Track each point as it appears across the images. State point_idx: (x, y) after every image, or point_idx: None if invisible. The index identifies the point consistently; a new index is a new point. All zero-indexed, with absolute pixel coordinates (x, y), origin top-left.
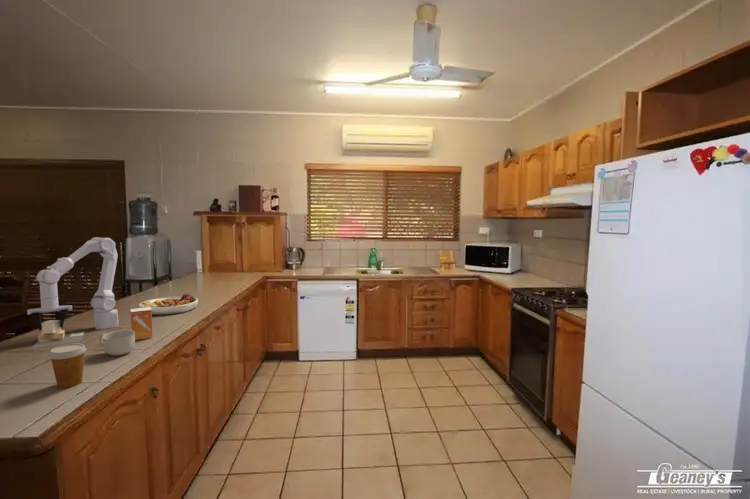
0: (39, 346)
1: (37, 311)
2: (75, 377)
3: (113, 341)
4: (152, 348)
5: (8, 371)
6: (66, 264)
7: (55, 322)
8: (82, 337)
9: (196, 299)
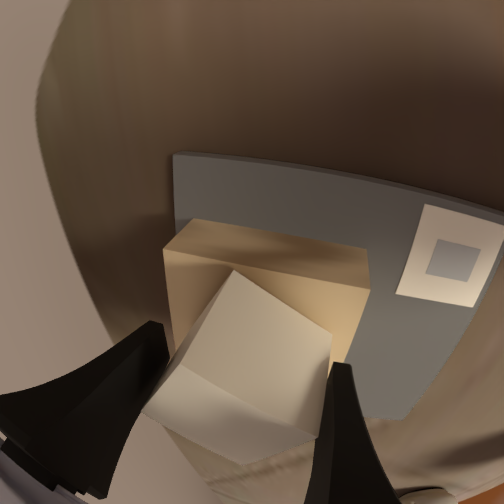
0: None
1: (43, 496)
2: None
3: None
4: (479, 489)
5: (192, 463)
6: None
7: (266, 453)
8: (441, 362)
9: None
